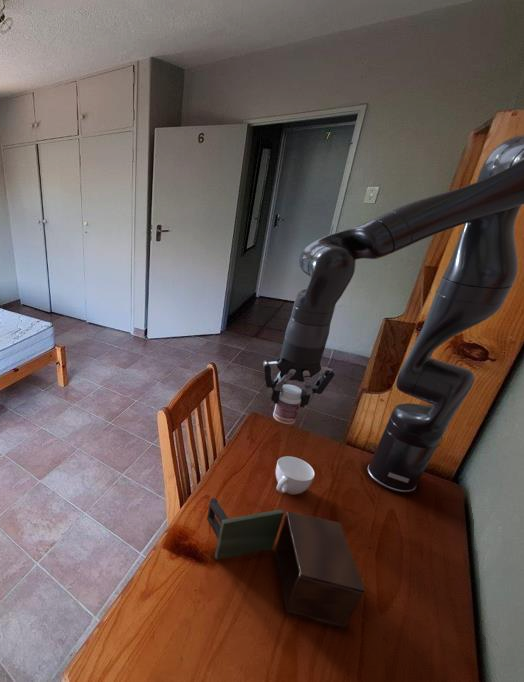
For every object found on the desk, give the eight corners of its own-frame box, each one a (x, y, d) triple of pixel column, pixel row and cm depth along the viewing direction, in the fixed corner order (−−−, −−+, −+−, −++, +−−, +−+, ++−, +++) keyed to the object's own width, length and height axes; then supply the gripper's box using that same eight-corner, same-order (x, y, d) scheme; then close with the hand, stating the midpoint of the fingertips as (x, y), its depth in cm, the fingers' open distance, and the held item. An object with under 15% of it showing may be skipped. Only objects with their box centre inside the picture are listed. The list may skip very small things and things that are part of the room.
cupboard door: (200, 529, 80) (206, 494, 75) (252, 519, 82) (261, 484, 77) (216, 559, 74) (224, 523, 69) (272, 548, 76) (284, 512, 71)
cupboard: (286, 612, 65) (301, 574, 60) (274, 548, 76) (286, 511, 71) (344, 629, 63) (365, 590, 57) (324, 560, 73) (340, 522, 68)
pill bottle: (298, 425, 83) (307, 395, 80) (276, 423, 84) (283, 394, 81) (291, 412, 87) (299, 383, 84) (270, 411, 88) (277, 382, 85)
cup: (314, 490, 88) (321, 470, 85) (291, 511, 83) (298, 490, 80) (282, 470, 94) (288, 451, 91) (260, 488, 89) (265, 469, 86)
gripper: (270, 343, 75) (255, 408, 83) (351, 350, 71) (328, 418, 79) (265, 328, 82) (252, 390, 89) (339, 334, 77) (319, 398, 85)
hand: (288, 403), depth 84 cm, fingers closed on pill bottle, 4 cm apart
